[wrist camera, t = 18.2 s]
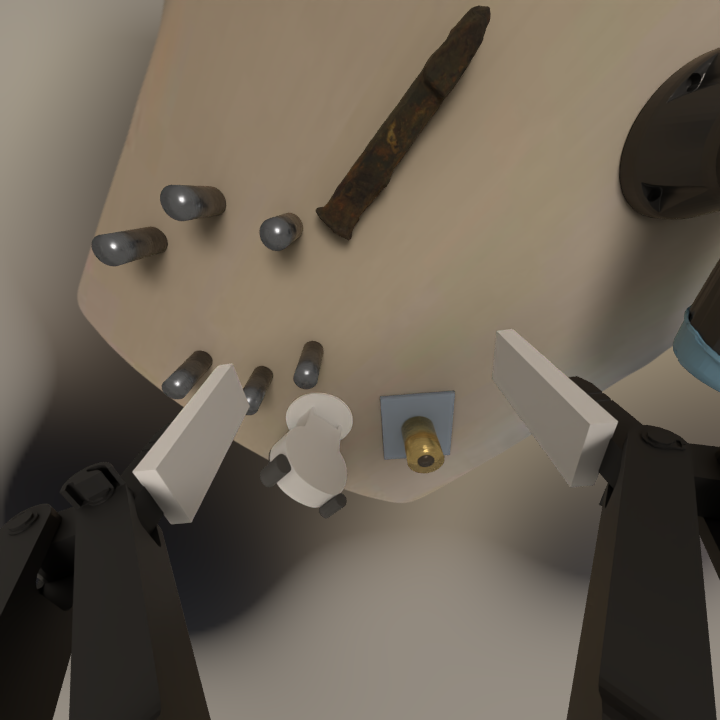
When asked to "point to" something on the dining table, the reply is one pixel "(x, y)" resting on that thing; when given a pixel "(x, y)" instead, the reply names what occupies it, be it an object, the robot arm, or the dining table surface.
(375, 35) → the dining table surface
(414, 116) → the hand tool
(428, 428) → the gold metal cylinder
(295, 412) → the panda figurine
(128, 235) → the spacer posts
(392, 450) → the slate board
